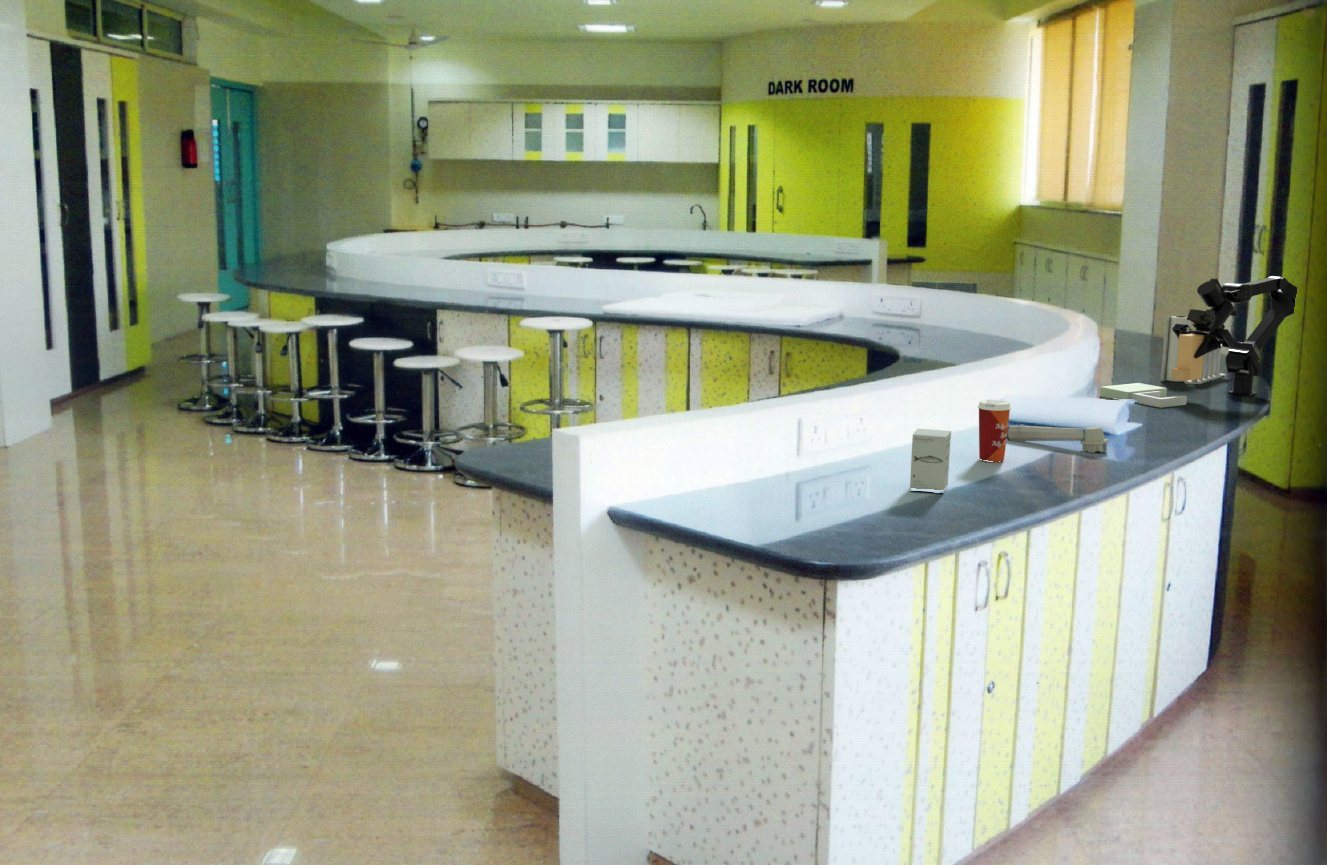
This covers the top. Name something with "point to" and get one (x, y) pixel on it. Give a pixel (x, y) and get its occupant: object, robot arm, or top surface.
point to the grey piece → (1060, 435)
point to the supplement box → (930, 459)
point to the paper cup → (993, 429)
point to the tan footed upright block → (1188, 358)
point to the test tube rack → (1209, 367)
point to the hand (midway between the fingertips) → (1187, 356)
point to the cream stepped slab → (1142, 394)
